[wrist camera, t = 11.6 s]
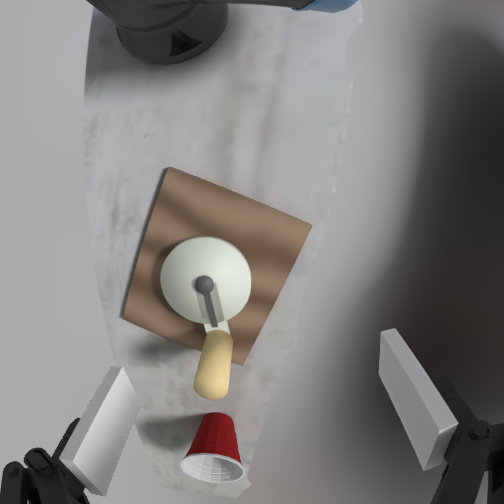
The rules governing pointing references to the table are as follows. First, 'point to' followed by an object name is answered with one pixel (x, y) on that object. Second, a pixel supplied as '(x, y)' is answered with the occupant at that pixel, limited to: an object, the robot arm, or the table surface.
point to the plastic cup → (214, 452)
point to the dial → (208, 301)
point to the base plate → (224, 226)
